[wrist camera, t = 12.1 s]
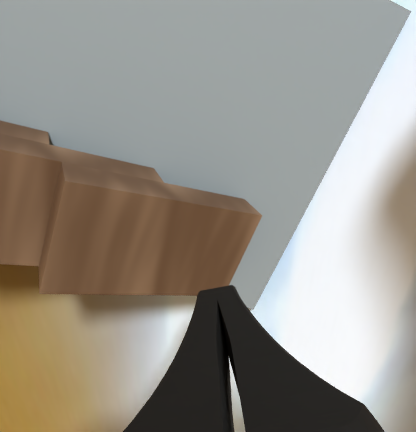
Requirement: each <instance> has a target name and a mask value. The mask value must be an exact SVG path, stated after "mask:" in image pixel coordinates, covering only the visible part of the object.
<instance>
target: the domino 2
mask: <svg viewBox="0 0 416 432" xmlns="http://www.w3.org/2000/svg"><path fill="white" fill-rule="evenodd" d="M261 218H262V215H261V214H260V213H259V212H258V211H257V210H256V209H255V208H254V207H253V206H252V205H250V204H249V203H248V202H247V201H246V200H245V199H242V198H237V197H232V196H227V195H222V194H218V193H213V192H208V191H203V190H198V189H193V188H188V187H183V186H178V185H173V184H168V183H163V182H158V181H153V180H148V179H143V178H138V177H133V176H128V175H123V174H118V173H113V172H109V171H104V170H99V169H94V168H89V167H84V166H79V165H74V164H69V163H64V162H62V163H61V167H60V172H59V176H58V181H57V185H56V190H55V194H54V199H53V204H52V208H51V213H50V217H49V222H48V226H47V231H46V235H45V240H44V244H43V249H42V253H41V258H40V262H39V294H102V295H190V296H197V295H198V293H199V292H200V291H202V290H207V289H213V288H218V287H223V286H229V284H230V282H231V280H232V278H233V276H234V274H235V272H236V270H237V268H238V265H239V263H240V261H241V259H242V257H243V255H244V253H245V251H246V249H247V247H248V245H249V243H250V240H251V238H252V236H253V234H254V232H255V230H256V228H257V226H258V224H259V222H260V220H261Z"/></svg>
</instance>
